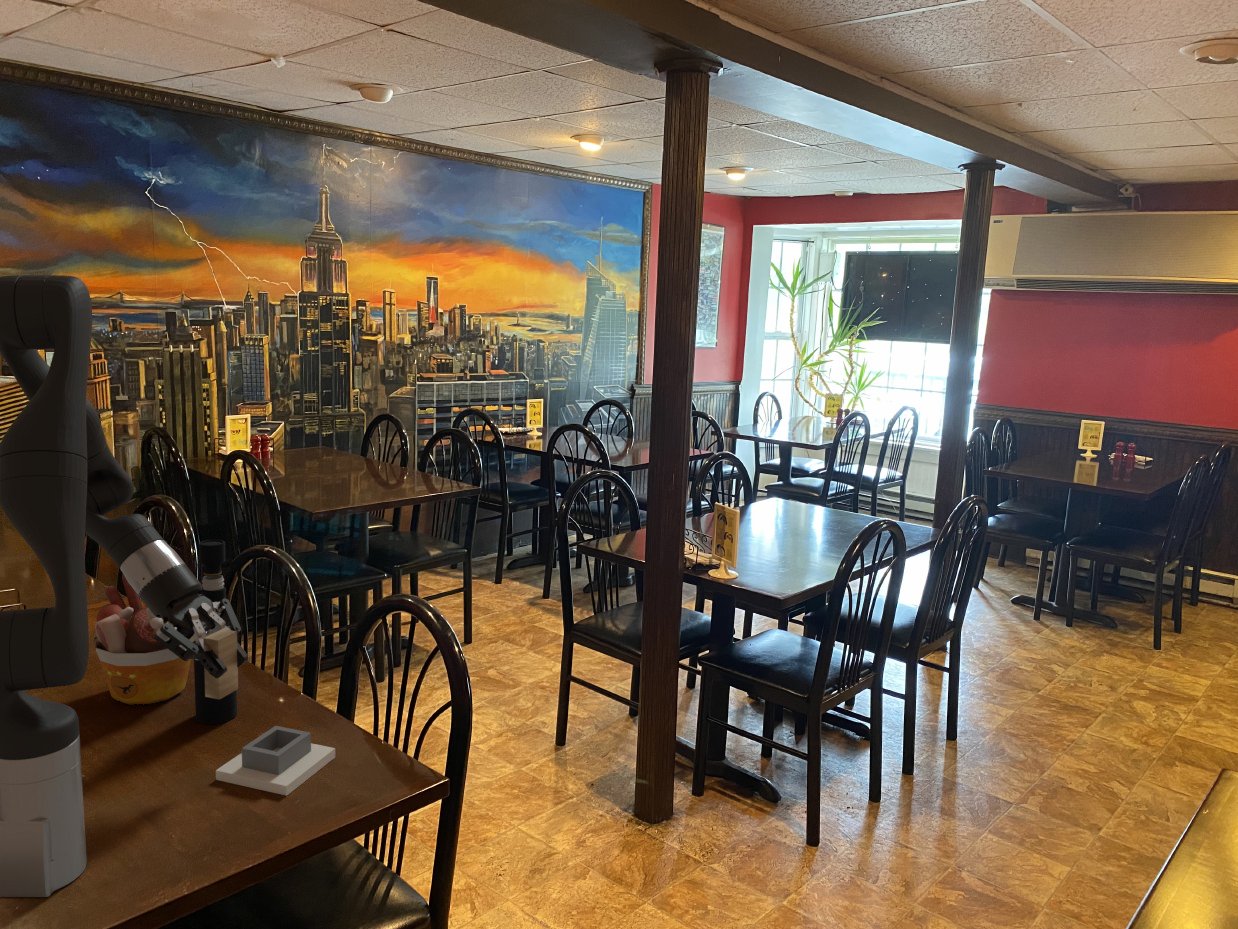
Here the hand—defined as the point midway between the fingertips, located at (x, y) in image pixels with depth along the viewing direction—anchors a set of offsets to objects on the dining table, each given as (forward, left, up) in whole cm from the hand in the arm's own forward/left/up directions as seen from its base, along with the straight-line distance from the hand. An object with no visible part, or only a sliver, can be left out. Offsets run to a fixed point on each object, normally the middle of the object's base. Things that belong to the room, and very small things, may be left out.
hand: (232, 668), depth 134 cm
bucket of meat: (+27, +24, -16) cm, 39 cm away
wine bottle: (+18, +9, -16) cm, 26 cm away
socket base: (+1, -6, -16) cm, 17 cm away
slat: (+1, +2, -4) cm, 5 cm away
